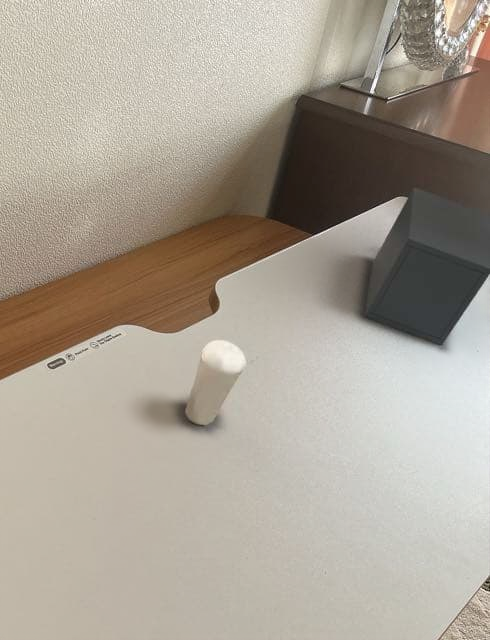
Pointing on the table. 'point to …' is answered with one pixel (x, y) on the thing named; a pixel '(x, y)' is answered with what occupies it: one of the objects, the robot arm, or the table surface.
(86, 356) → the table surface
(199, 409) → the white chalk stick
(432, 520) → the table surface
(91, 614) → the table surface
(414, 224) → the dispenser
